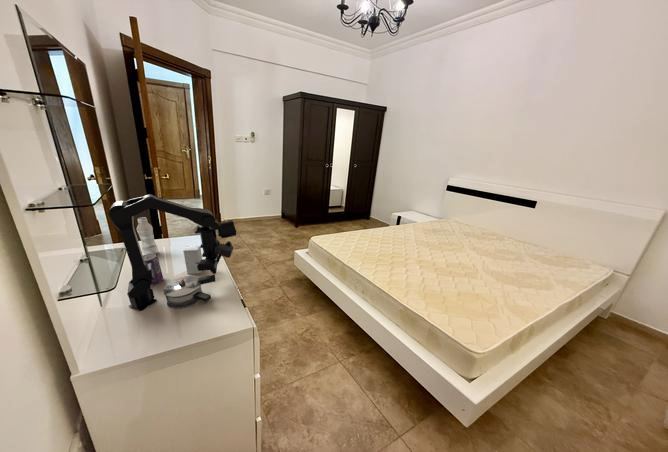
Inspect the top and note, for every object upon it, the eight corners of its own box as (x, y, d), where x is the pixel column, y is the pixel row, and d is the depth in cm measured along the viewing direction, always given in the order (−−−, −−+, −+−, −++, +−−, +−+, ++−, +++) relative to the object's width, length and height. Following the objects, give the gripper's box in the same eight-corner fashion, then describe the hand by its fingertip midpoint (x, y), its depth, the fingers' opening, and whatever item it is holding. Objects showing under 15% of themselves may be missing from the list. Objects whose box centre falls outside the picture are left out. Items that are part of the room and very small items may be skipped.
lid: (216, 289, 97) (215, 284, 97) (161, 301, 90) (160, 296, 89) (214, 272, 108) (213, 268, 107) (165, 282, 100) (164, 277, 99)
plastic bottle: (153, 257, 128) (144, 220, 121) (140, 257, 128) (130, 220, 121) (162, 251, 134) (153, 216, 127) (149, 251, 134) (140, 215, 127)
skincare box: (187, 274, 116) (182, 250, 111) (190, 269, 120) (186, 246, 115) (201, 273, 116) (196, 250, 112) (204, 268, 121) (200, 245, 116)
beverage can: (161, 275, 114) (155, 251, 110) (165, 282, 110) (159, 257, 105) (142, 281, 110) (135, 256, 105) (145, 288, 105) (138, 263, 100)
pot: (197, 316, 91) (194, 305, 89) (159, 304, 96) (156, 293, 94) (221, 296, 102) (220, 285, 100) (186, 286, 107) (184, 276, 105)
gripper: (225, 250, 95) (230, 284, 101) (234, 230, 112) (238, 261, 118) (193, 251, 93) (200, 287, 99) (207, 231, 110) (212, 263, 116)
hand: (214, 273), depth 108 cm, fingers closed
